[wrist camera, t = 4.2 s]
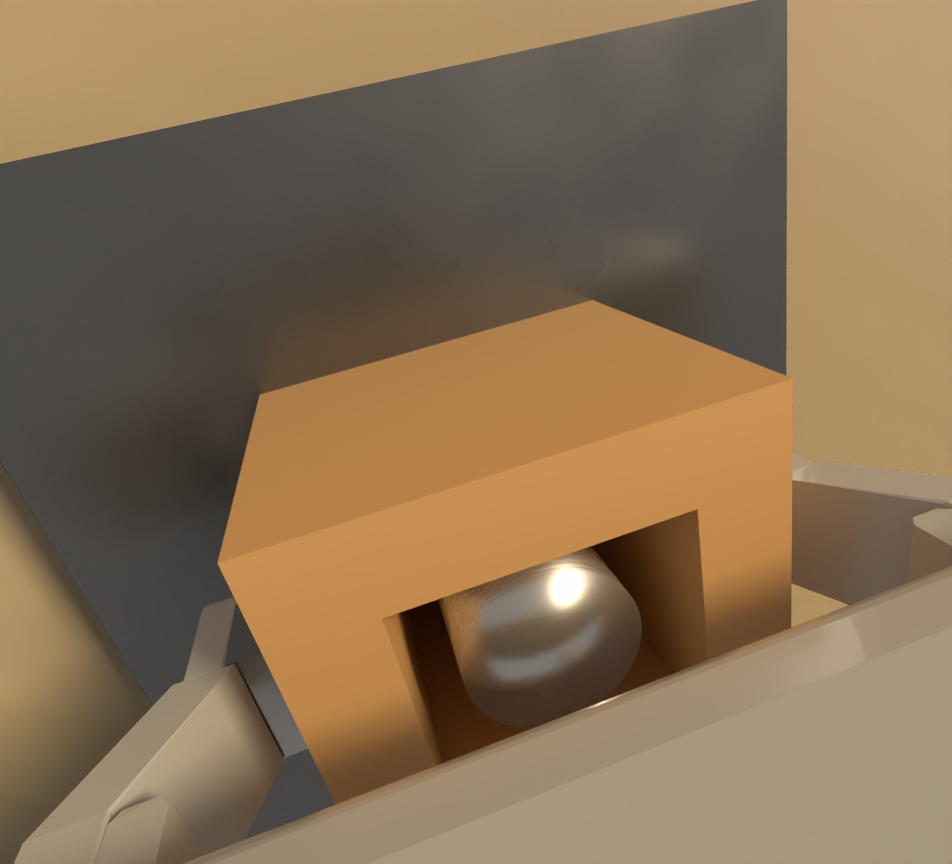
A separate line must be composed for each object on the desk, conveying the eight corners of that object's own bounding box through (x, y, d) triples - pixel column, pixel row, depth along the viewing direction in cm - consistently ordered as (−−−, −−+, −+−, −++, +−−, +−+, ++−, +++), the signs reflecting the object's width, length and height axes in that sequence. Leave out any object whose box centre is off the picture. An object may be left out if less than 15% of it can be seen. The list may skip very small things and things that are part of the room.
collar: (628, 565, 13) (790, 756, 9) (364, 659, 12) (394, 924, 8) (592, 300, 11) (792, 377, 6) (259, 395, 10) (217, 563, 5)
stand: (747, 602, 17) (953, 795, 11) (248, 790, 15) (212, 1131, 9) (729, 18, 11) (1127, -146, 6) (-93, 197, 9) (-686, 209, 4)
